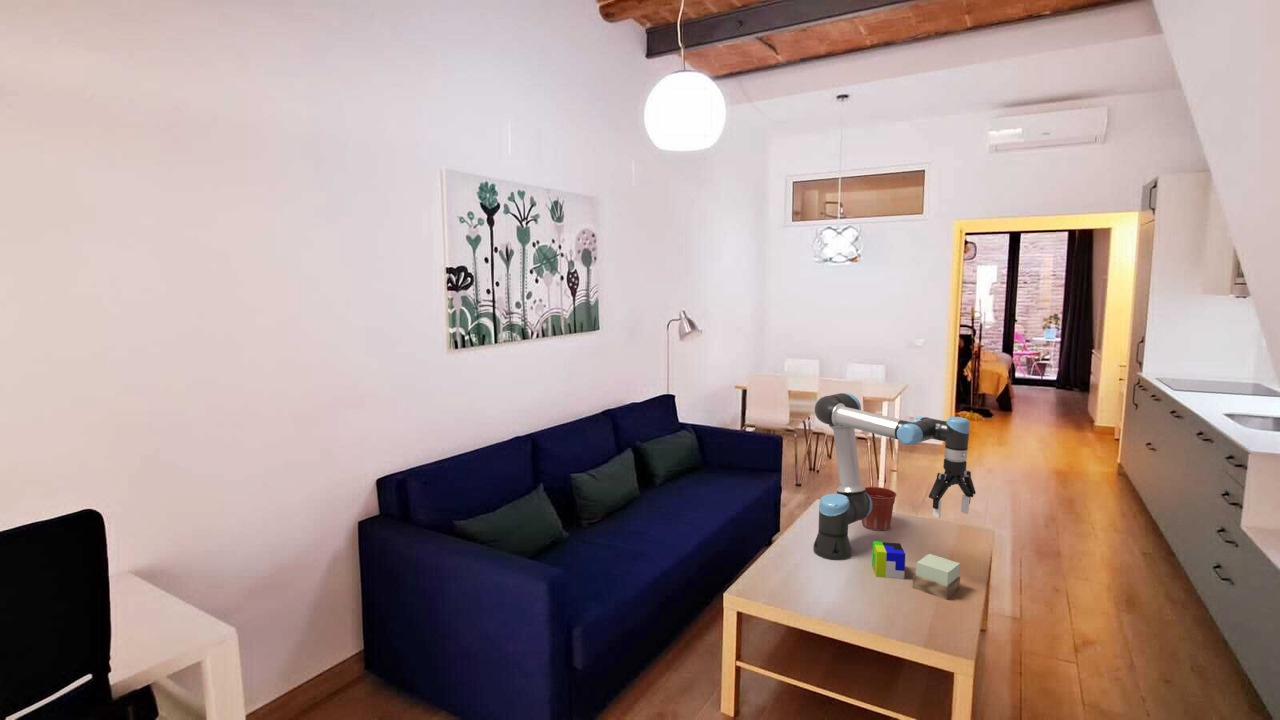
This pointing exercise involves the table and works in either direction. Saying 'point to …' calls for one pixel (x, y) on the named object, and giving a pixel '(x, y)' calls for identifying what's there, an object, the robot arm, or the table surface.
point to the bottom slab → (935, 587)
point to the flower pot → (879, 508)
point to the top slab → (938, 569)
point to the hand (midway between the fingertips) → (950, 514)
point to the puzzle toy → (888, 560)
